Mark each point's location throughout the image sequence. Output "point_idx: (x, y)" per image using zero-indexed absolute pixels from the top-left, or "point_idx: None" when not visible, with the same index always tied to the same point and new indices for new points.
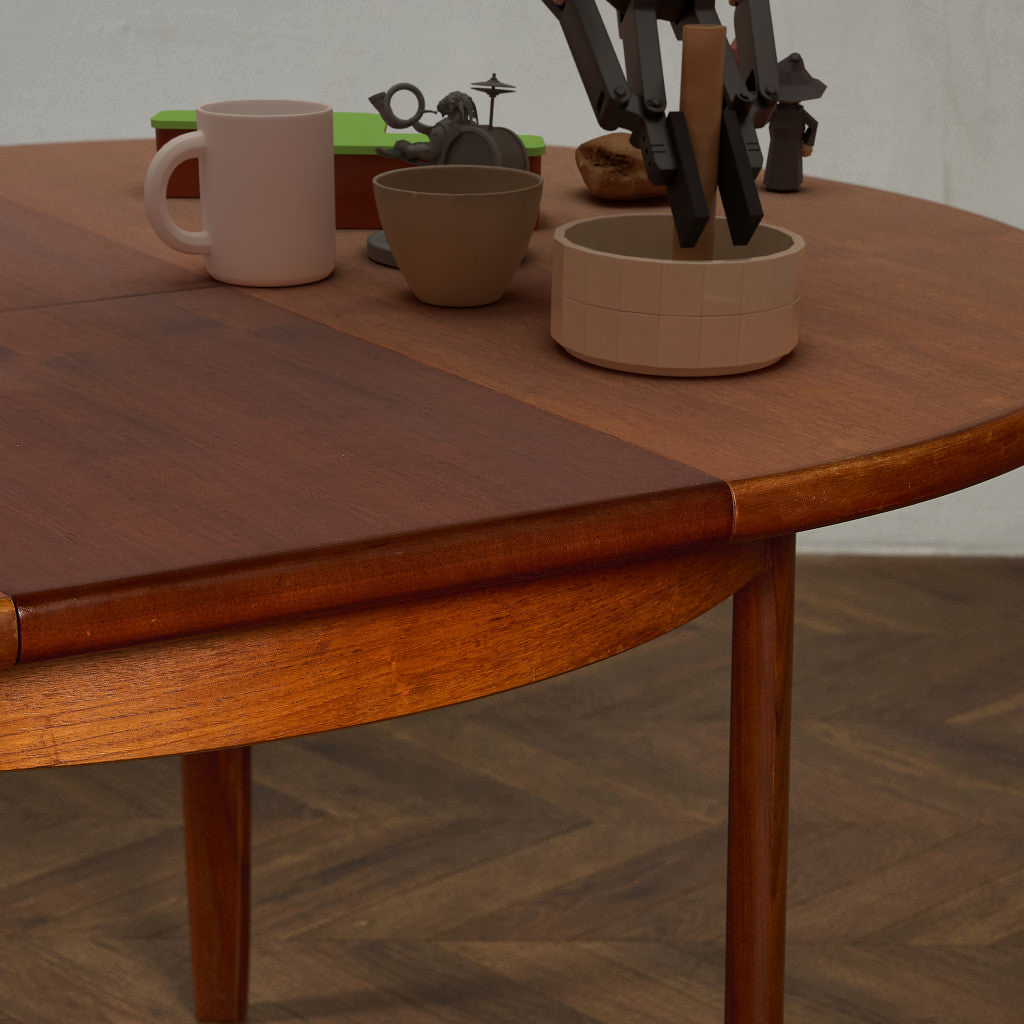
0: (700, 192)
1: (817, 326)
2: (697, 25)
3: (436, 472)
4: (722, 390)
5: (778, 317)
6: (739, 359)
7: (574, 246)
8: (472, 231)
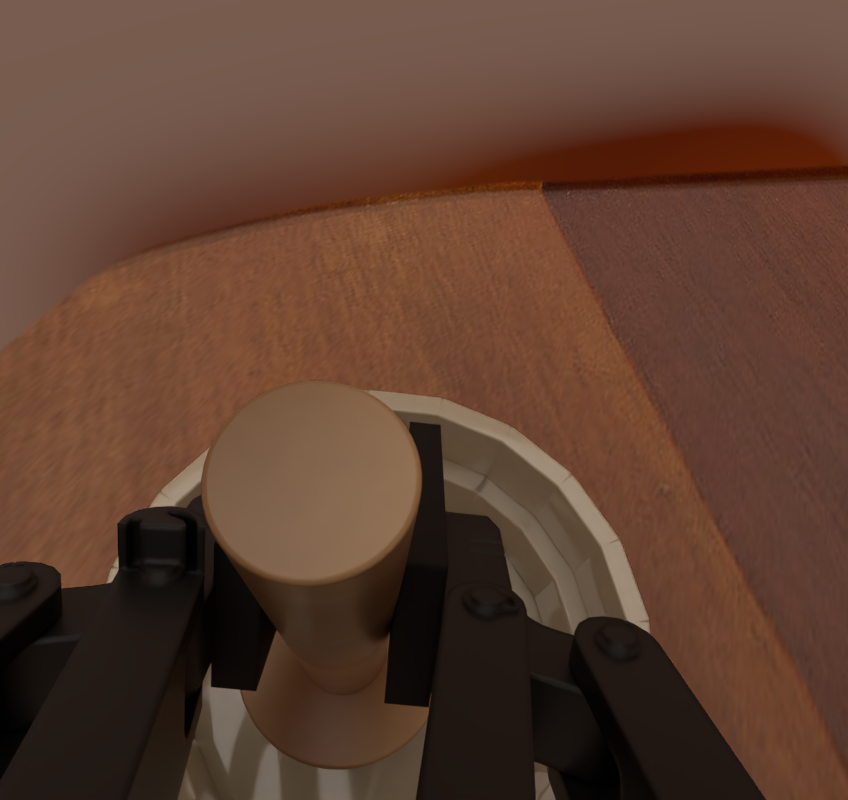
0: (416, 444)
1: None
2: (342, 498)
3: (805, 282)
4: None
5: None
6: None
7: (633, 595)
8: None
